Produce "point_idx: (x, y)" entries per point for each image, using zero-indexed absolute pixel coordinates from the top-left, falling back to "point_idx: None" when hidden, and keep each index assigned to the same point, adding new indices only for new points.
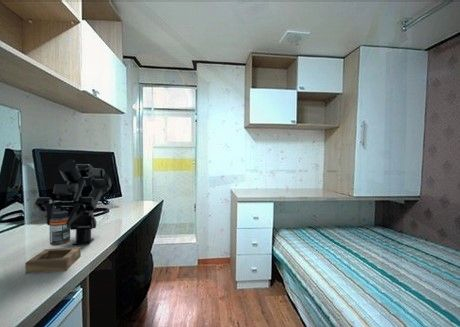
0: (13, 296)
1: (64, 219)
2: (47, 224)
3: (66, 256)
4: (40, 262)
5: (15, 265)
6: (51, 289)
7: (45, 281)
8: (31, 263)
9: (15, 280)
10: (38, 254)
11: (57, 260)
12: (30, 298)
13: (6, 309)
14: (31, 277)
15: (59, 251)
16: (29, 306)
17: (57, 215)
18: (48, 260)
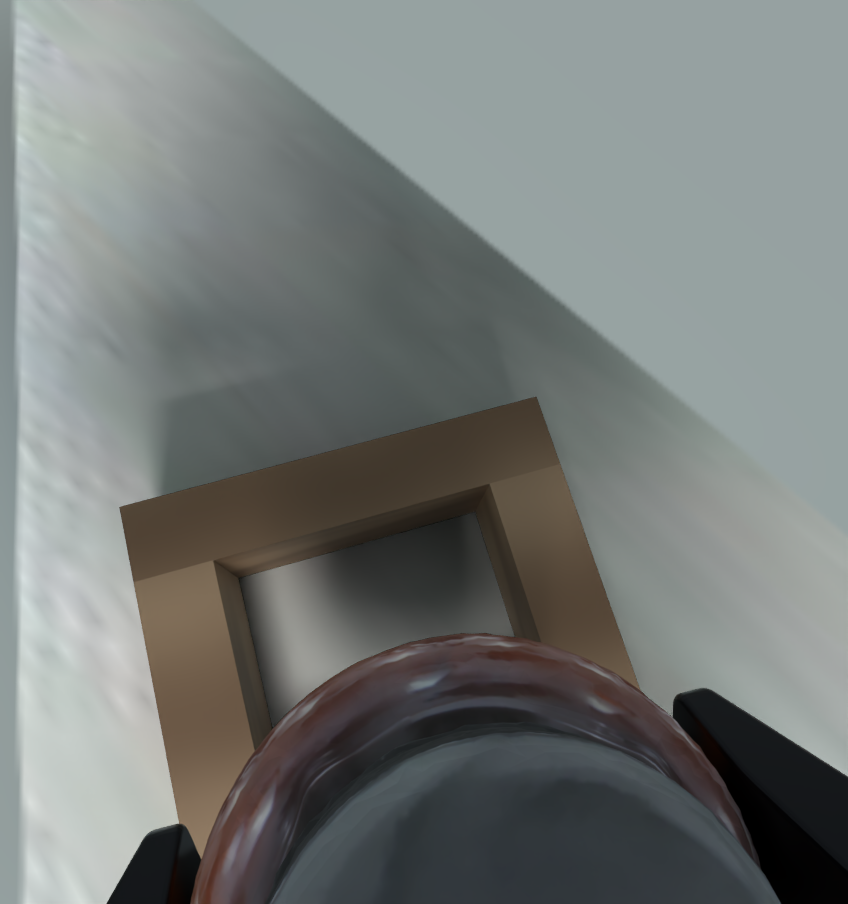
0: (278, 125)
1: (233, 828)
2: (688, 695)
3: (189, 602)
4: (393, 437)
5: (801, 600)
6: (63, 216)
7: (209, 322)
8: (480, 418)
9: (486, 322)
10: (605, 629)
11: (221, 480)
12: (133, 109)
13: (190, 9)
14: (395, 378)
15: None
16: (67, 37)
17: (433, 740)
18: (326, 468)
